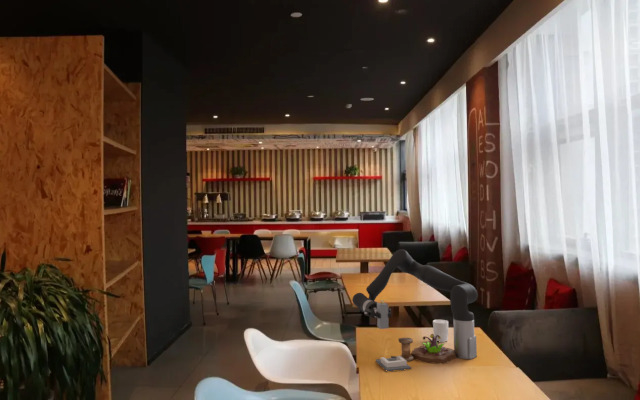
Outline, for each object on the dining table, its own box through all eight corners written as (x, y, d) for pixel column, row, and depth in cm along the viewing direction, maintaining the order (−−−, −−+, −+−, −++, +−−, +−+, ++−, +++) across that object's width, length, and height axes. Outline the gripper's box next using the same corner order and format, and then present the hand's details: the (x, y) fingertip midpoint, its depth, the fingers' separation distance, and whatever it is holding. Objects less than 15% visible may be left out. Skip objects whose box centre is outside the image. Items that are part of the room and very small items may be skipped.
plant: (405, 359, 219) (404, 335, 220) (419, 348, 236) (419, 325, 236) (448, 366, 209) (447, 340, 209) (460, 354, 226) (460, 330, 226)
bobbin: (416, 359, 219) (415, 339, 219) (407, 362, 214) (407, 342, 214) (398, 354, 226) (398, 335, 226) (390, 357, 221) (390, 338, 221)
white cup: (430, 339, 250) (429, 320, 251) (443, 337, 253) (443, 319, 253) (438, 343, 243) (438, 323, 243) (451, 341, 245) (451, 322, 245)
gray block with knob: (377, 326, 224) (376, 299, 224) (385, 326, 225) (384, 299, 225) (380, 328, 220) (379, 301, 220) (388, 328, 221) (387, 301, 221)
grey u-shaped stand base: (375, 361, 216) (375, 355, 216) (398, 359, 219) (398, 352, 219) (387, 371, 202) (387, 364, 202) (411, 369, 205) (411, 362, 205)
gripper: (358, 301, 235) (370, 308, 218) (385, 299, 238) (399, 306, 221) (358, 317, 235) (370, 325, 218) (385, 315, 238) (399, 322, 221)
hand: (384, 315), depth 220 cm, fingers closed on gray block with knob, 4 cm apart
